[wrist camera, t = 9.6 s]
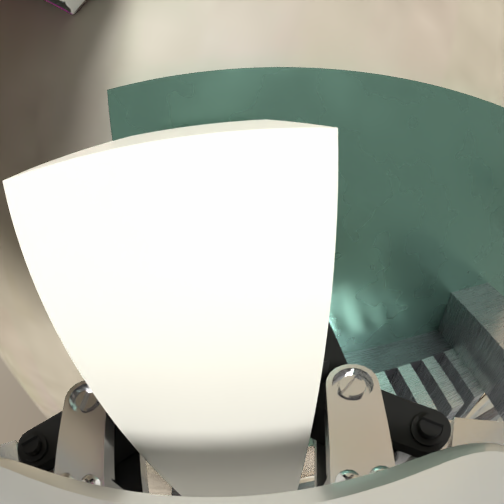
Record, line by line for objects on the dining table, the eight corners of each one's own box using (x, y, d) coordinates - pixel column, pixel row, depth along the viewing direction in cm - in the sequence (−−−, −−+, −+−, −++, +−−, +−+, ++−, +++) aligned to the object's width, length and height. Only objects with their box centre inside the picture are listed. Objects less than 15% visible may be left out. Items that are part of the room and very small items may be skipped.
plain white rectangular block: (276, 393, 14) (294, 501, 8) (197, 400, 13) (194, 506, 8) (265, 119, 8) (337, 127, 3) (133, 135, 8) (2, 180, 3)
